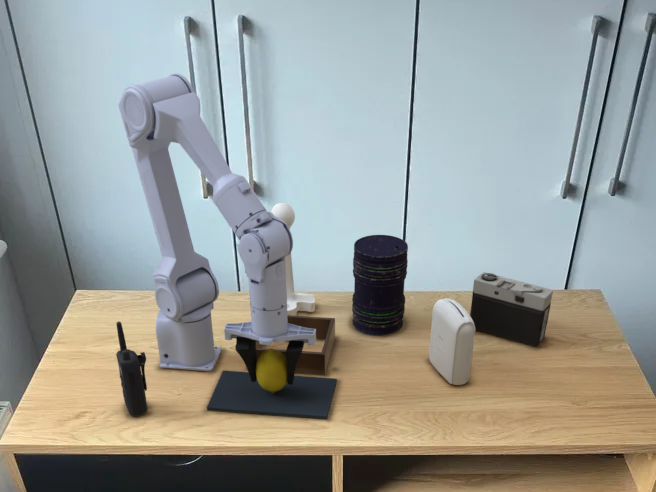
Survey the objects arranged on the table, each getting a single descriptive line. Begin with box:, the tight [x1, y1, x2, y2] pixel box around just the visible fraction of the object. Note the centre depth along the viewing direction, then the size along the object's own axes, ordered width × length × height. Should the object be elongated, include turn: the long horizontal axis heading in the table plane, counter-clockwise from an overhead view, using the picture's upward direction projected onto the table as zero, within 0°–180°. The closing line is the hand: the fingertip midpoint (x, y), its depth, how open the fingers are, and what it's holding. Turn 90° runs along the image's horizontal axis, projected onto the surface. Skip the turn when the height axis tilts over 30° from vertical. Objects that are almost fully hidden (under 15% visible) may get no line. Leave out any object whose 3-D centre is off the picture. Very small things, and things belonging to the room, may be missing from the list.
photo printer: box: [428, 297, 476, 386], centre depth 146 cm, size 10×4×12 cm, turn 20°
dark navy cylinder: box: [351, 234, 409, 337], centre depth 158 cm, size 10×10×15 cm
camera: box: [469, 271, 554, 348], centre depth 158 cm, size 14×8×10 cm, turn 58°
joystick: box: [270, 202, 316, 316], centre depth 159 cm, size 11×8×20 cm
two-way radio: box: [115, 321, 148, 417], centre depth 136 cm, size 6×4×15 cm
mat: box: [206, 370, 338, 420], centre depth 144 cm, size 20×12×1 cm, turn 83°
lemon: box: [256, 348, 288, 393], centre depth 141 cm, size 6×6×8 cm
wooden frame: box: [256, 315, 336, 376], centre depth 153 cm, size 13×13×4 cm
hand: (272, 380), depth 142 cm, fingers closed on lemon, 5 cm apart
